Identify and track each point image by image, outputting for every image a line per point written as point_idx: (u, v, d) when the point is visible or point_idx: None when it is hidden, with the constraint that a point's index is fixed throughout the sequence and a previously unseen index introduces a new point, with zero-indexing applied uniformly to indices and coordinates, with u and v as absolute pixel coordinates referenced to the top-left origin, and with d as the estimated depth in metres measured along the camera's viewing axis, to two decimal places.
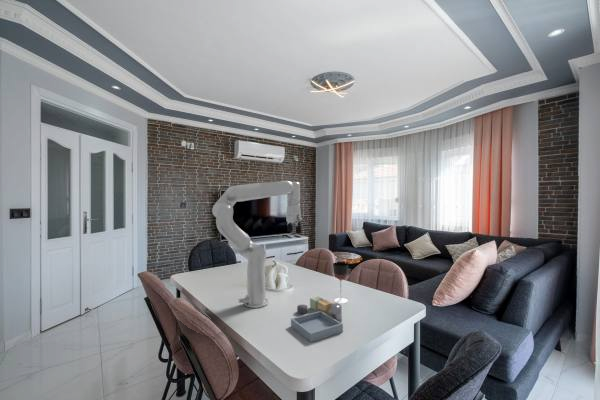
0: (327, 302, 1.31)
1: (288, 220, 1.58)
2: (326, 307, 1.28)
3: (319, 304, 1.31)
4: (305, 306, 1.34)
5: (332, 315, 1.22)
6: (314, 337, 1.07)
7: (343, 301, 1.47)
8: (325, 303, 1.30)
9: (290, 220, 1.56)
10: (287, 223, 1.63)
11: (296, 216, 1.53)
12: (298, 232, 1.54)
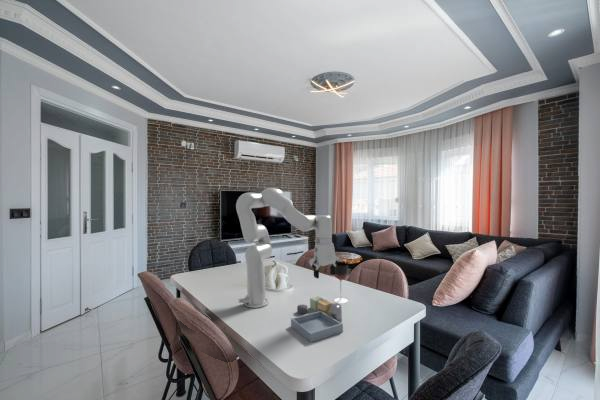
0: (327, 302, 1.31)
1: (325, 263, 1.28)
2: (326, 307, 1.28)
3: (319, 304, 1.31)
4: (305, 306, 1.34)
5: (332, 315, 1.22)
6: (314, 337, 1.07)
7: (343, 301, 1.47)
8: (325, 303, 1.30)
9: (329, 262, 1.30)
10: (316, 268, 1.27)
11: None
12: None
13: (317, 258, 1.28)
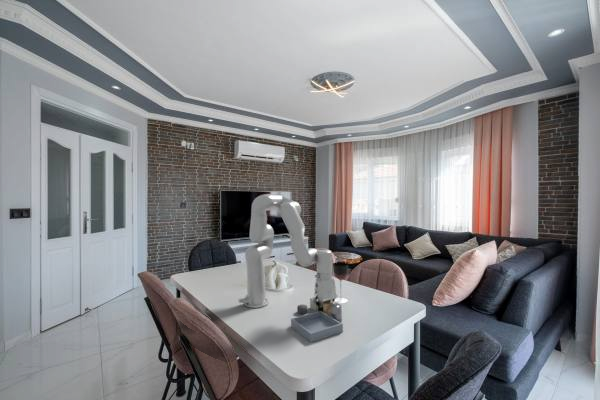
0: (327, 302, 1.31)
1: (325, 299, 1.28)
2: (326, 307, 1.28)
3: None
4: (305, 306, 1.34)
5: (332, 315, 1.22)
6: (314, 337, 1.07)
7: (343, 301, 1.47)
8: (325, 303, 1.30)
9: (329, 297, 1.29)
10: (320, 305, 1.28)
11: None
12: None
13: (318, 297, 1.28)
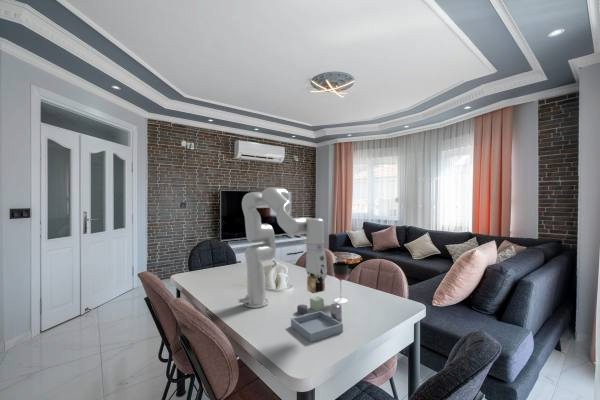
0: None
1: None
2: None
3: (316, 281, 1.14)
4: (305, 306, 1.34)
5: (332, 315, 1.22)
6: (314, 337, 1.07)
7: (343, 301, 1.47)
8: (319, 276, 1.17)
9: None
10: None
11: None
12: None
13: (325, 270, 1.13)
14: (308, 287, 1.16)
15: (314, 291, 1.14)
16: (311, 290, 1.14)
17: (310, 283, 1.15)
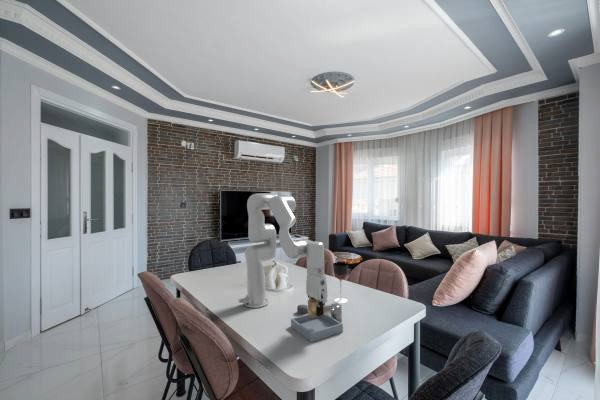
0: None
1: None
2: None
3: (316, 305, 1.14)
4: (305, 306, 1.34)
5: (332, 315, 1.22)
6: (314, 337, 1.07)
7: (343, 301, 1.47)
8: None
9: None
10: (323, 304, 1.14)
11: None
12: None
13: (325, 294, 1.13)
14: (309, 311, 1.16)
15: (315, 315, 1.13)
16: (311, 315, 1.14)
17: (311, 307, 1.15)
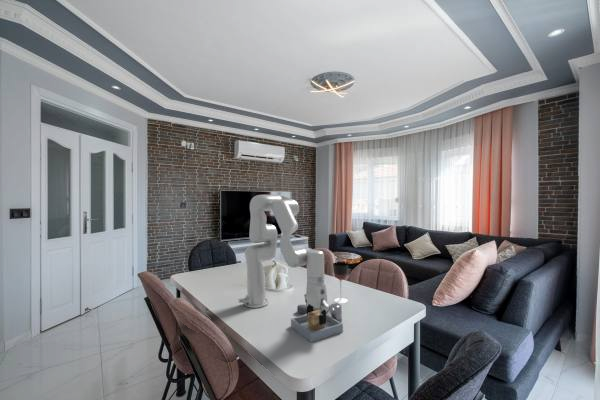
0: (317, 312, 1.18)
1: None
2: None
3: (316, 318, 1.14)
4: (305, 306, 1.34)
5: (332, 315, 1.22)
6: (314, 337, 1.07)
7: (343, 301, 1.47)
8: None
9: None
10: None
11: None
12: None
13: (325, 300, 1.13)
14: (308, 324, 1.16)
15: (314, 328, 1.13)
16: (311, 328, 1.14)
17: (311, 320, 1.15)
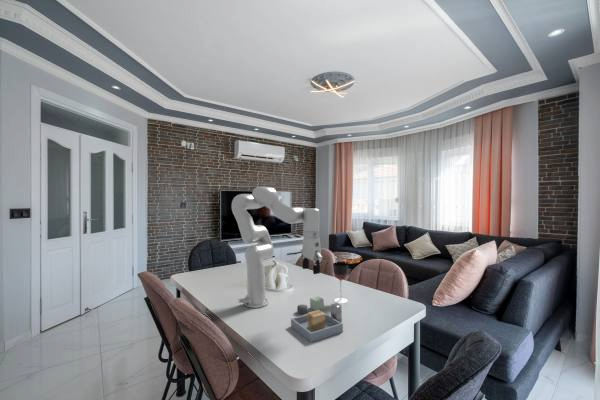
0: (317, 312, 1.18)
1: None
2: None
3: (316, 318, 1.14)
4: (305, 306, 1.34)
5: (332, 315, 1.22)
6: (314, 337, 1.07)
7: (343, 301, 1.47)
8: (319, 312, 1.17)
9: None
10: None
11: None
12: None
13: (319, 252, 1.23)
14: (308, 324, 1.16)
15: (314, 328, 1.13)
16: (311, 328, 1.14)
17: (311, 320, 1.15)
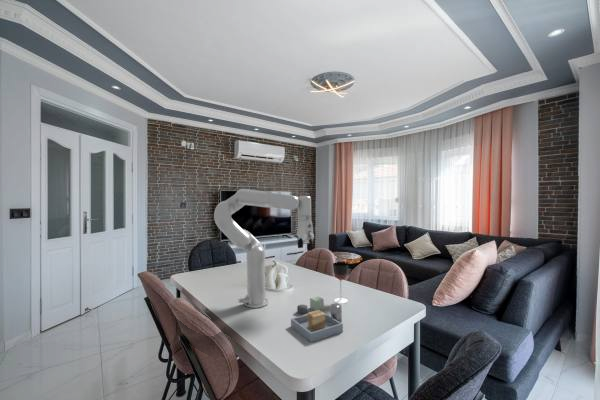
0: (317, 312, 1.18)
1: None
2: None
3: (316, 318, 1.14)
4: (305, 306, 1.34)
5: (332, 315, 1.22)
6: (314, 337, 1.07)
7: (343, 301, 1.47)
8: (319, 312, 1.17)
9: None
10: None
11: None
12: None
13: (311, 232, 1.47)
14: (308, 324, 1.16)
15: (314, 328, 1.13)
16: (311, 328, 1.14)
17: (311, 320, 1.15)
